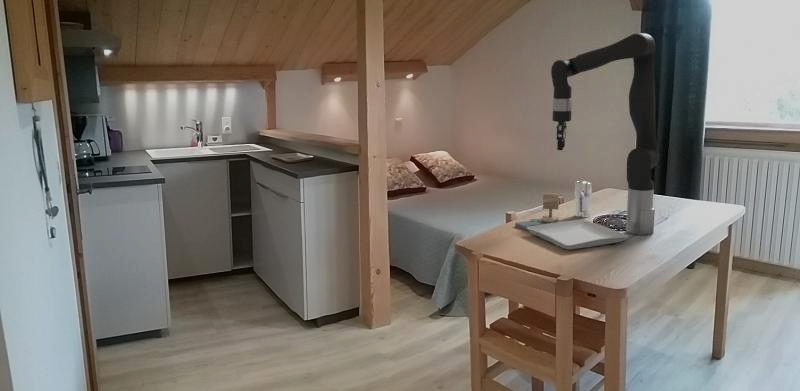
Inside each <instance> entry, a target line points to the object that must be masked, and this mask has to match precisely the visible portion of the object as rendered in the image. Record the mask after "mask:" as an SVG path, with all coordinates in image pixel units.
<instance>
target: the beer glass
mask: <svg viewBox="0 0 800 391" xmlns="http://www.w3.org/2000/svg"><path fill="white" fill-rule="evenodd" d="M592 188H593V187H592V181H590V180H575V185H574V199H575V211H574V212H575V213H574V216H575V217H576V218H589V217H590V209H589V208H590V203H591V197H592V191H593V190H592Z"/></svg>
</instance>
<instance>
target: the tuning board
mask: <svg viewBox="0 0 800 391" xmlns="http://www.w3.org/2000/svg"><path fill="white" fill-rule="evenodd" d="M558 222H564V220H560V219H558ZM514 224H515V225H514V227H516V228H518V229H521V230H524V231H527V232H530V231H529V230H528V229H527V228H526V227H531V226H537V225H543V224H549V223H544V222H542V221H539V220H526V221H525V220H524V221H518V222H515V223H514Z"/></svg>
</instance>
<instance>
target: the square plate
mask: <svg viewBox="0 0 800 391" xmlns="http://www.w3.org/2000/svg"><path fill="white" fill-rule="evenodd" d="M563 221H564V220H563ZM526 228H527V229H528V230H529V231H528V232H529V233H531V234H532V235H534V236H536V237H539V238H540V239H542V240H545V241H547V242H548V243H551V244H553V245H555V246H557V247H560V248H562V249H565V250H577V249H585V248H592V247H598V246H604V245H605V246H606V245H610V244H615V243H620V242H623V241H625V240H626V239H627V238H629V235H627V234H625V233H622V232H619V231H618V230H615V229H612V228H610V227H607V226H604V225H601V224H599V223H596V222H591V221H589V220H585V219H575V220H566V221H564V222H556V223H549V224H543V225H537V226H531V227H526Z"/></svg>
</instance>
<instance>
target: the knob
mask: <svg viewBox="0 0 800 391" xmlns="http://www.w3.org/2000/svg"><path fill="white" fill-rule="evenodd" d="M542 195H543V196H542V209H544V210H548V214H547V215H543V216H542V217H541V218H530V220H539V221H542V222H544V223H556V222H558V220H560V219H559V216H557V215H553V210H559V208H560V207H559V206H560V205H559V200H560V199H559V198H560V195H559V193H545V192H544V193H543V194H542ZM530 220H529V221H530Z"/></svg>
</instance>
